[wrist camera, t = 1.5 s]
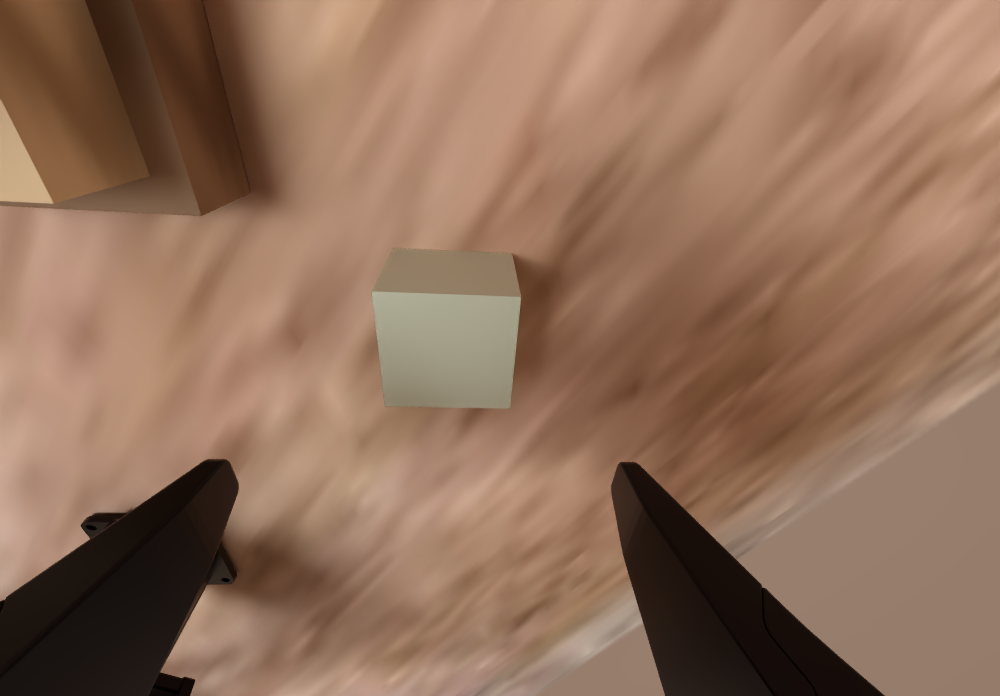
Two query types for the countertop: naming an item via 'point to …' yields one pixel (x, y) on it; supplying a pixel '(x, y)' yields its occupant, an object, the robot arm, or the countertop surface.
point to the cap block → (447, 328)
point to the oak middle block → (59, 106)
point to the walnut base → (167, 110)
